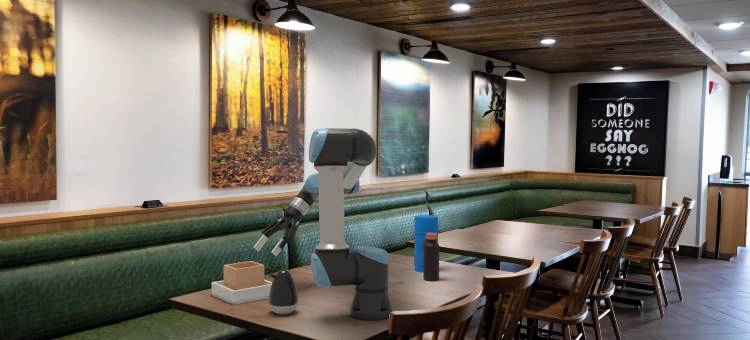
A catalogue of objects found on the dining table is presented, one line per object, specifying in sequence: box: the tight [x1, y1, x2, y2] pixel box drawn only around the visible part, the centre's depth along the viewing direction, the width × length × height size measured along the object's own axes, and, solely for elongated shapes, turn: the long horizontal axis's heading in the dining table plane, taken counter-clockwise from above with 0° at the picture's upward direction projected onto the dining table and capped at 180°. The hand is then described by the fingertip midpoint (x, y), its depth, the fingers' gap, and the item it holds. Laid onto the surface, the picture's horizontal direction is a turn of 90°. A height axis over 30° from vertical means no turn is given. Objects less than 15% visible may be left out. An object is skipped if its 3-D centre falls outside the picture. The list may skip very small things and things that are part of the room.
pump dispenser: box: [268, 269, 299, 315], centre depth 209 cm, size 10×10×15 cm
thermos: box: [413, 214, 439, 273], centre depth 275 cm, size 11×11×25 cm
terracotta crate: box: [223, 260, 265, 291], centre depth 230 cm, size 10×12×11 cm
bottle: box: [422, 233, 440, 282], centre depth 258 cm, size 7×7×20 cm
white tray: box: [211, 279, 273, 306], centre depth 230 cm, size 18×18×5 cm
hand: (264, 251), depth 236 cm, fingers open, 13 cm apart
